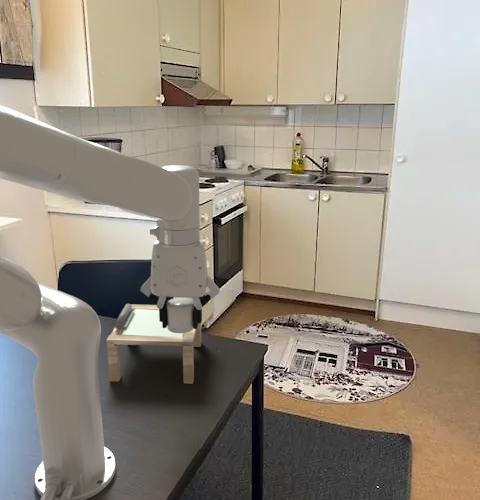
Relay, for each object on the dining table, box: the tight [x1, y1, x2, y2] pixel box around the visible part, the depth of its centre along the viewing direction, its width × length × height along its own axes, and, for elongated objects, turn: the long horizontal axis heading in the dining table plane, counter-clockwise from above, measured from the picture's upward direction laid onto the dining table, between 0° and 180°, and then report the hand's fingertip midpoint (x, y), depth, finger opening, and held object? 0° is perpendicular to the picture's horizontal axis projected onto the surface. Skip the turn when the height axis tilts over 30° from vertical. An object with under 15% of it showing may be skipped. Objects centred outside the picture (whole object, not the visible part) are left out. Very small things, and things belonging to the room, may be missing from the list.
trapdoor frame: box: [106, 303, 202, 385], centre depth 114 cm, size 18×18×10 cm
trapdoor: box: [114, 303, 184, 337], centre depth 113 cm, size 13×15×3 cm
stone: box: [167, 297, 195, 333], centre depth 95 cm, size 5×5×5 cm
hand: (180, 324), depth 96 cm, fingers closed on stone, 5 cm apart
